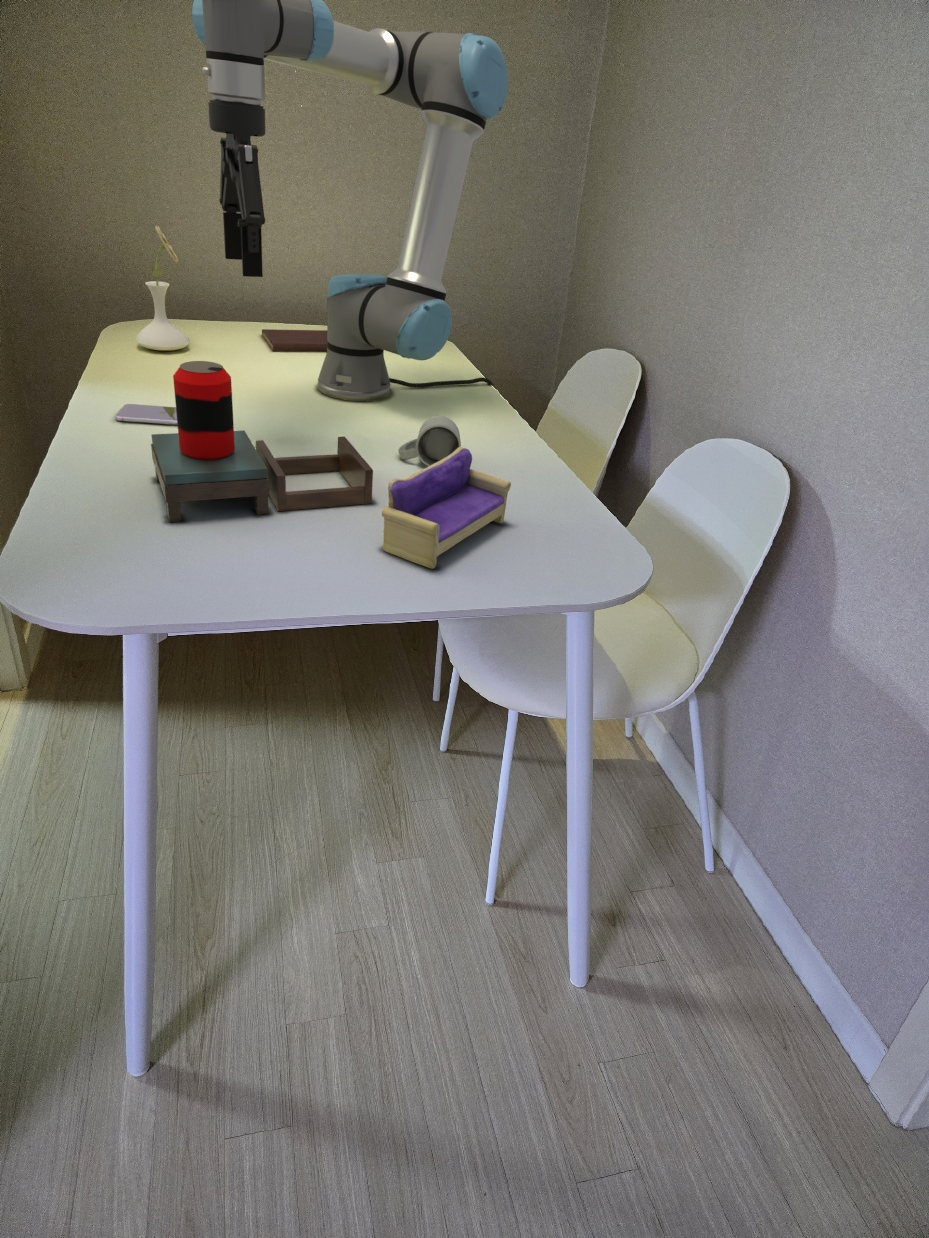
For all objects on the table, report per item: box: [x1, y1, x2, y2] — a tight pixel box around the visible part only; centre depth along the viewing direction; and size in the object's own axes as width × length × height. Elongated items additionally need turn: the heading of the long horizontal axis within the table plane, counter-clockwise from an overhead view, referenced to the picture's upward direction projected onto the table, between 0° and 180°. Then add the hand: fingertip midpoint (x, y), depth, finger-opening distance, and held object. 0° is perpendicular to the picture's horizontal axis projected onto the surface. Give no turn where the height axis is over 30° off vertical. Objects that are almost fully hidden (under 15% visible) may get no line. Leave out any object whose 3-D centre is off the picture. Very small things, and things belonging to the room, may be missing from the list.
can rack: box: [255, 435, 374, 512], centre depth 123 cm, size 14×14×6 cm
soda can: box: [172, 360, 235, 460], centre depth 111 cm, size 8×8×12 cm
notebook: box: [261, 328, 327, 353], centre depth 197 cm, size 15×20×2 cm
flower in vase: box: [135, 225, 190, 351], centre depth 175 cm, size 13×11×25 cm
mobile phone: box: [115, 403, 178, 426], centre depth 143 cm, size 8×1×15 cm
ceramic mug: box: [397, 415, 462, 467], centre depth 137 cm, size 11×8×8 cm
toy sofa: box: [381, 446, 512, 569], centre depth 112 cm, size 21×9×10 cm, turn 148°
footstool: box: [150, 430, 270, 523], centre depth 116 cm, size 14×16×7 cm
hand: (243, 267), depth 120 cm, fingers open, 13 cm apart
